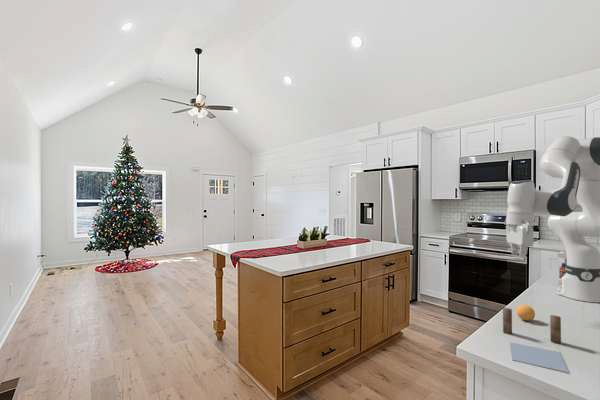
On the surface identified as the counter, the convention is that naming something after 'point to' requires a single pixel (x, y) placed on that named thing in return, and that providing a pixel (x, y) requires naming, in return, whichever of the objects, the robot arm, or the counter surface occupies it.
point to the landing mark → (538, 357)
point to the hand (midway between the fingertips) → (518, 256)
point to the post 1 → (507, 321)
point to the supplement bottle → (562, 270)
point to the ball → (525, 312)
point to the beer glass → (561, 258)
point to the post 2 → (555, 329)
